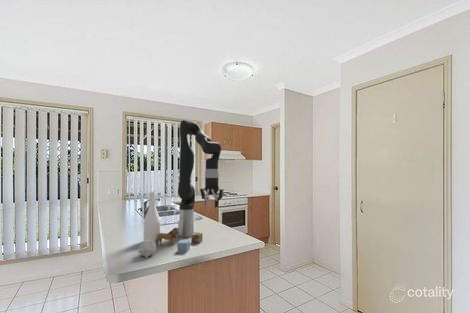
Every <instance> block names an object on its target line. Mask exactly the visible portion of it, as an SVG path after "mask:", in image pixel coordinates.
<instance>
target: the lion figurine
mask: <svg viewBox="0 0 470 313" xmlns="http://www.w3.org/2000/svg"><path fill="white" fill-rule="evenodd" d="M178 234H179V228H178V227H174V228H173V229H172V230H170V231H169V232H168V233H164V232H160V234H158V235H157V237H156V241H155V244H156V246H157V245H160V247H163V244H162V241H163V240H165V241H168V240H169V244H170V245H172V246H174V245H175V244H174V239H177V237H179V236H178ZM157 238H158V239H157ZM158 241H159V242H158Z"/></svg>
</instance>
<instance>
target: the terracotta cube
mask: <svg viewBox="0 0 470 313" xmlns="http://www.w3.org/2000/svg"><path fill="white" fill-rule="evenodd" d="M205 209H210V210H211V209H212V210H215V209H216V208H215V198H214V197H212V198H210V197H209V199H206V206H205Z"/></svg>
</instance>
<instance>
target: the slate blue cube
mask: <svg viewBox="0 0 470 313" xmlns="http://www.w3.org/2000/svg"><path fill="white" fill-rule="evenodd" d="M189 250H190V239H179V241H178V242H177V253H185V252H186V253H188V252H189Z"/></svg>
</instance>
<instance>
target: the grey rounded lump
mask: <svg viewBox="0 0 470 313" xmlns="http://www.w3.org/2000/svg"><path fill="white" fill-rule="evenodd" d="M156 249H157V245H156V244H155V243H154V242H153V241H152V240H150V239H146V240H144V239H143V240H142V241H141V242H140V244H139V245H138V252H137V253H139V254H140V255H141V256H143V257H145V258H149V257H150V256H151V255H153V254H154V253H155V252H156ZM148 256H149V257H148Z"/></svg>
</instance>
